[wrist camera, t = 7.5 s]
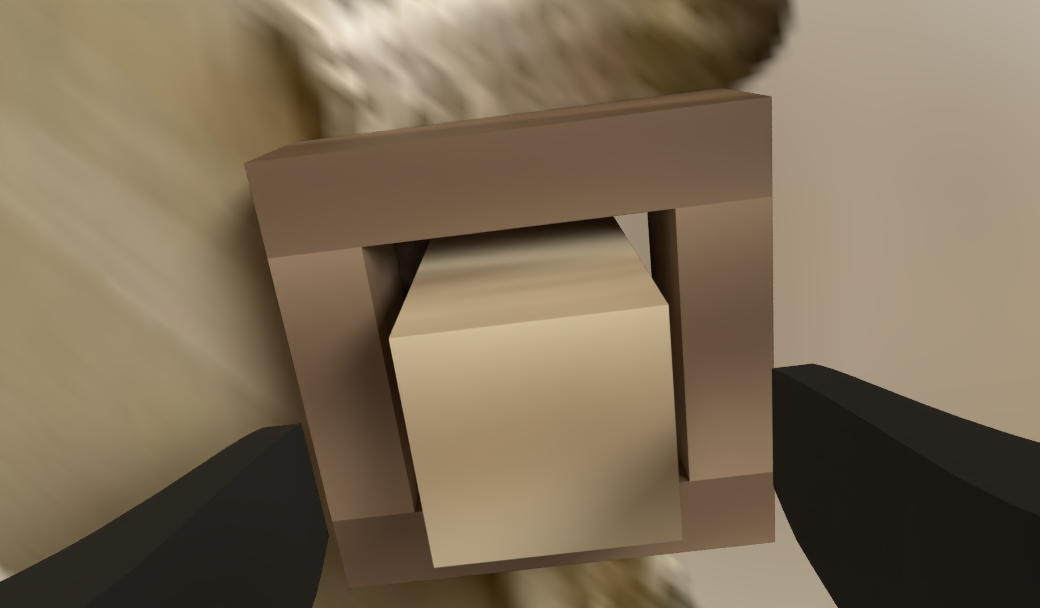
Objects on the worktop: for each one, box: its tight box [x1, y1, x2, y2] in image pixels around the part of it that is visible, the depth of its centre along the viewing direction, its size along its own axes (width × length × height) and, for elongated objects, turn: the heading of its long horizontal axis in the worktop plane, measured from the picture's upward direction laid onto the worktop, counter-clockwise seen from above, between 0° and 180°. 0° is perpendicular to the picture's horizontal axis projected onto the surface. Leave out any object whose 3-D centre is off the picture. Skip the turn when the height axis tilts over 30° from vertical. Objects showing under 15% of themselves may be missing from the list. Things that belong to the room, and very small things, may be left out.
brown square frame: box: [244, 88, 775, 589], centre depth 15 cm, size 9×9×3 cm
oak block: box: [389, 216, 683, 568], centre depth 14 cm, size 4×4×6 cm
